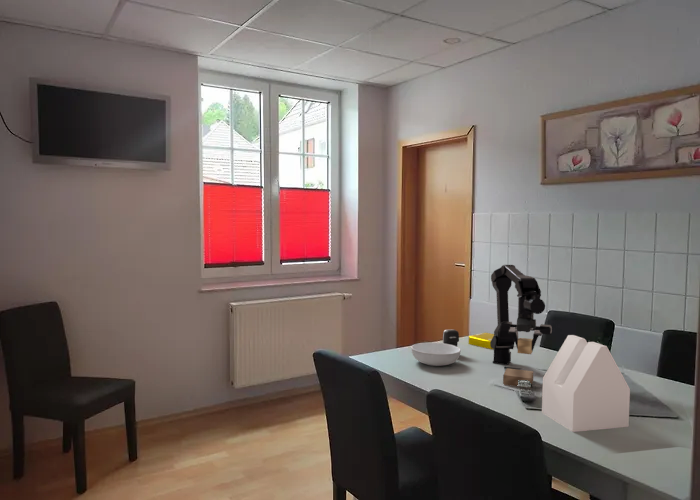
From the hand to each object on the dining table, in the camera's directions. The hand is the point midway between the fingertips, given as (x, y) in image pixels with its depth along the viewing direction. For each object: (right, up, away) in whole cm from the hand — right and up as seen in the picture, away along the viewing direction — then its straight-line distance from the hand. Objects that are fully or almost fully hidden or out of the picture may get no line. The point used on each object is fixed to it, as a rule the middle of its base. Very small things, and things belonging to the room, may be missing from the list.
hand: (525, 349), depth 204 cm
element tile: (+1, -9, +57) cm, 58 cm away
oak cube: (0, -1, 0) cm, 1 cm away
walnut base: (-4, -12, -4) cm, 13 cm away
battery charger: (-22, -9, +36) cm, 43 cm away
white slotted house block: (+5, -14, -41) cm, 44 cm away
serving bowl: (-31, -10, +22) cm, 39 cm away
